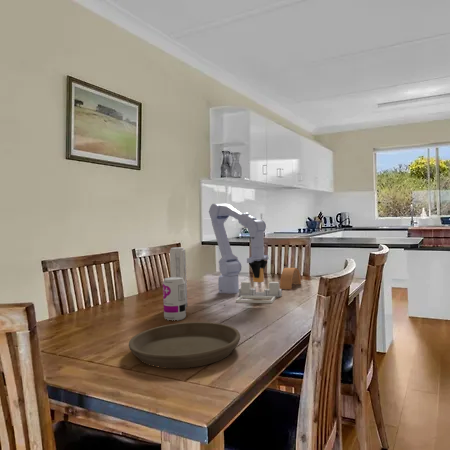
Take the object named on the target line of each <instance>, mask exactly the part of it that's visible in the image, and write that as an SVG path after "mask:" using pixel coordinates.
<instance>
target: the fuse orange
mask: <svg viewBox="0 0 450 450" xmlns="http://www.w3.org/2000/svg"><path fill="white" fill-rule="evenodd" d="M264 272H265V270H264V271H263V268H260V275H259V278H254V274H253V273H252V281H253V283H264V281H265V278H264V277H265V274H264Z"/></svg>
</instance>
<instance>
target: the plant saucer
mask: <svg viewBox="0 0 450 450" xmlns="http://www.w3.org/2000/svg"><path fill="white" fill-rule="evenodd" d="M240 340H241V333H240V332H239V330H238V329H237V328H235V327H233V326H231V325H228V324H224V323H218V322H209V321H208V322H207V321H194V322H193V321H191V322H189V321H188V322H178V323H171V324H170V323H169V324H164V325H161V326H160V325H159V326H156V327H152V328H149V329H146V330H143V331H140V332H139V333H137V334H136V335H134V336H133V337H132V338H131V339H130V340H128V341H129V342H128V347H129V349H130V351H131V353H132V354H133V355H134V356H135V357H137V359H138V360H139V361H140V362H142V361H143V362H145V363H147V364H146V365H148V364H150V365H154V366H159V367H158V368H160V367H166V368H165V369H173V368H175V369H190V367H191V368H197V367H202V366H207V365H211V364H214V363H218V362H220V361H221V360H224V359H225V358H226V357H228V356H229V355H231V353H232V352H233V350H235V348H236V347H237V346H238V344H239V342H240ZM143 362H142V363H143ZM145 363H144V364H145ZM150 365H149V366H150ZM154 366H153V367H154Z"/></svg>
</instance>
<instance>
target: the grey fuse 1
mask: <svg viewBox="0 0 450 450" xmlns="http://www.w3.org/2000/svg"><path fill="white" fill-rule="evenodd" d="M240 288H241V293H245V294H250V289H252V283H251V281H241V282H240Z"/></svg>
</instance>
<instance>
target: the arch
mask: <svg viewBox="0 0 450 450" xmlns="http://www.w3.org/2000/svg"><path fill="white" fill-rule="evenodd" d="M301 284H302V279H301V273H300V270H299V269H298V267H284V268H283V269H282V271H281V275H280V282H279V289H282V290H292V289H293V288H292V287H293V286H292V285H301Z"/></svg>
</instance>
